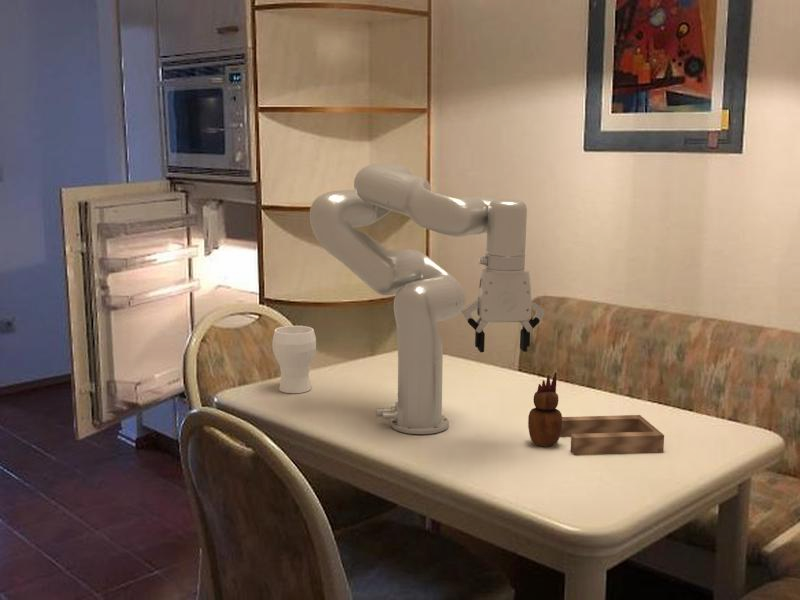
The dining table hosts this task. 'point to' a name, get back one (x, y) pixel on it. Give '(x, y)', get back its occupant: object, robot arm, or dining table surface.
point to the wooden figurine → (545, 415)
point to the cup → (294, 356)
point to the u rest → (611, 435)
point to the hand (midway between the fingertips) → (502, 350)
